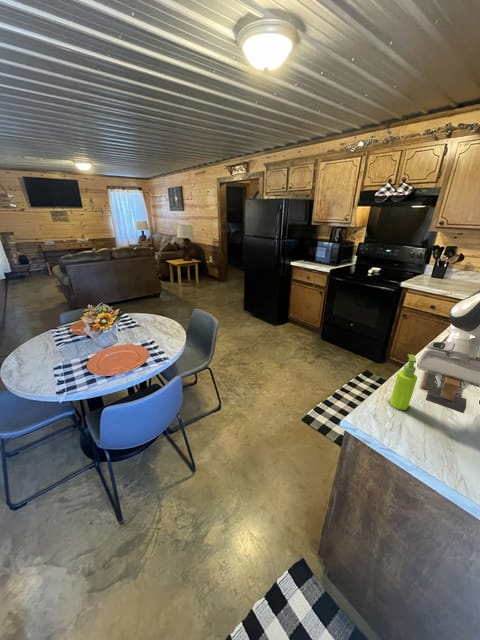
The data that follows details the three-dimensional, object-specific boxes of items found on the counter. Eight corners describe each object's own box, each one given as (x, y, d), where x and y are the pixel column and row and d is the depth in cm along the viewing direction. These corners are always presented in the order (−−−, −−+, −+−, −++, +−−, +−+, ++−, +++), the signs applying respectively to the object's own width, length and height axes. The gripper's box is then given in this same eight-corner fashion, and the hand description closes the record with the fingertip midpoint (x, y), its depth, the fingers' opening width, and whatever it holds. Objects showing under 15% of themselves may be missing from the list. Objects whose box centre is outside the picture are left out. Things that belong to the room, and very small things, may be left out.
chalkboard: (427, 367, 122) (427, 365, 122) (459, 377, 115) (460, 375, 115) (421, 388, 108) (422, 386, 107) (458, 400, 101) (459, 398, 100)
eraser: (463, 405, 85) (472, 383, 82) (463, 413, 82) (472, 391, 78) (427, 392, 91) (434, 372, 88) (425, 400, 87) (432, 378, 84)
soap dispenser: (406, 400, 101) (420, 355, 93) (408, 411, 95) (424, 364, 87) (389, 395, 103) (401, 351, 95) (390, 406, 97) (403, 360, 89)
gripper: (498, 366, 84) (488, 407, 80) (422, 347, 96) (411, 382, 92) (505, 360, 79) (495, 403, 76) (424, 340, 91) (413, 377, 87)
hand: (448, 391), depth 84 cm, fingers closed on eraser, 3 cm apart
